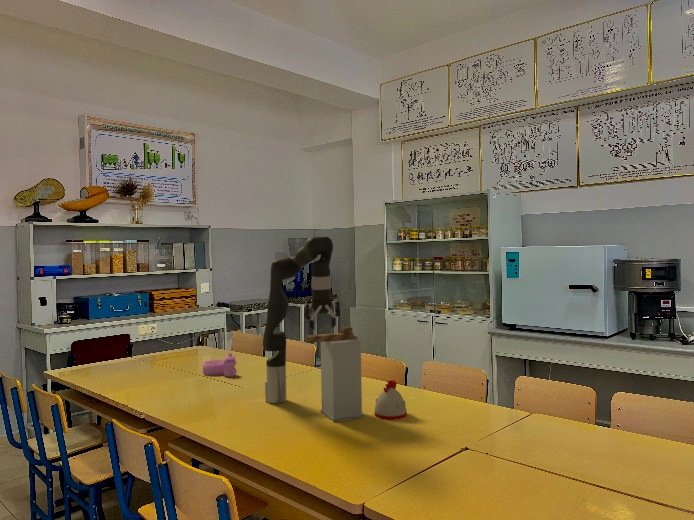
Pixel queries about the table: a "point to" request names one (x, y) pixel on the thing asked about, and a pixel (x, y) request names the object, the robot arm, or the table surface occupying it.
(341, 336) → the brown wooden bar
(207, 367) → the pink rounded piece
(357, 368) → the pedestal
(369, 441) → the table surface
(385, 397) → the white chicken figure
